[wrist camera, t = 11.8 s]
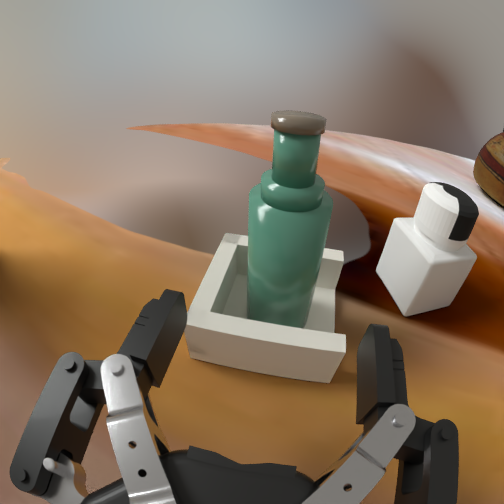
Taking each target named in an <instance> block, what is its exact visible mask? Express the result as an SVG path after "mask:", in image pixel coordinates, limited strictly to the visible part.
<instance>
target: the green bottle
mask: <svg viewBox="0 0 504 504" xmlns="http://www.w3.org/2000/svg"><path fill="white" fill-rule="evenodd" d="M325 126H326V119H325V118H324V117H322V116H319V115H316V114H313V113H307V112H301V111H276V112H273V113H272V114H271V127H272V128H273V129H274V144H273V161H272V169H270V170H267V171H266V172H264V173H263V174H262V177H261V183H260V184H258V185H256V186H254V187H253V188H252V189H251V191H250V193H249V222H248V224H249V225H248V267H247V319H249V320H255V321H260V322H266V323H272V324H277V325H283V326H289V327H296V328H302V329H303V328H304V327H305V325H306V323H307V319H308V315H309V311H310V308H311V304H312V300H313V295H314V291H315V287H316V283H317V279H318V274H319V270H320V266H321V261H322V257H323V252H324V247H325V243H326V238H327V233H328V228H329V223H330V218H331V213H332V208H333V200H332V198H331V197H330V195H329V194H328V193H327V192H326V191H324V186H325V182H324V180H323V179H322V178H321V177H320V176H319V175H317V174H316V170H317V162H318V155H319V146H320V138H321V134H323V133H325Z"/></svg>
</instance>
